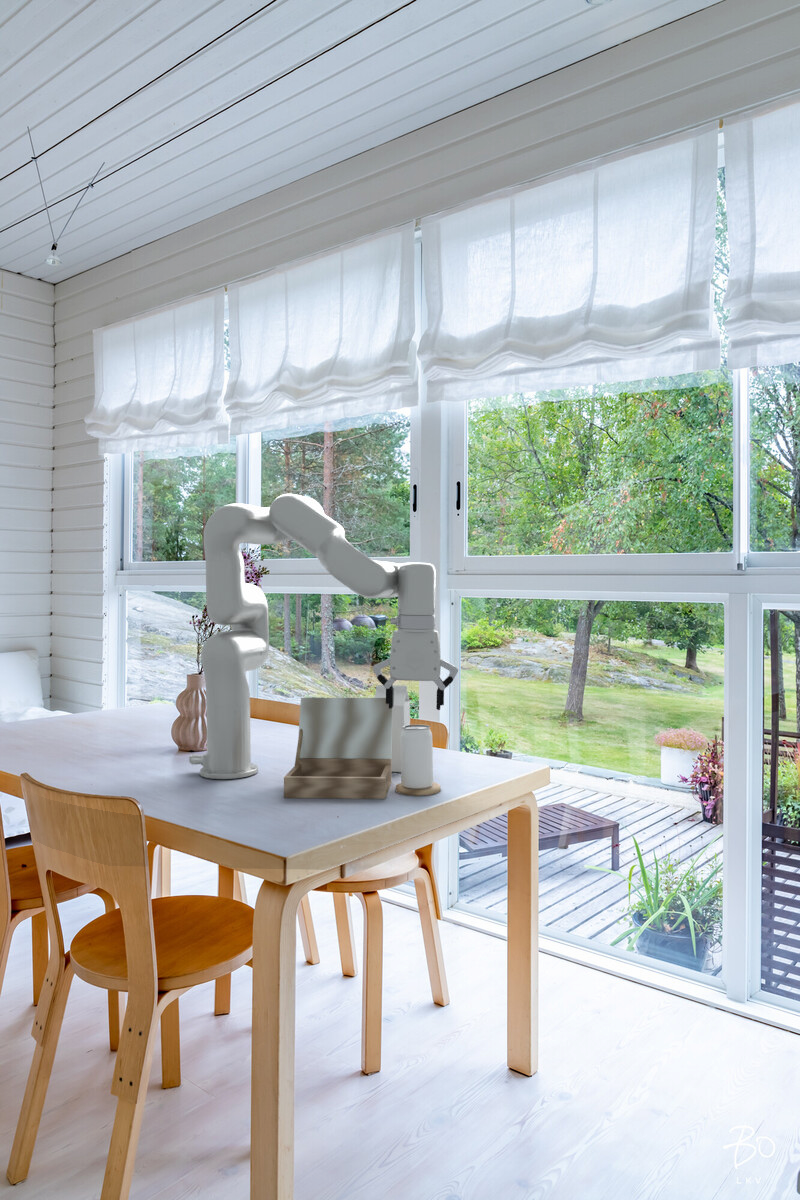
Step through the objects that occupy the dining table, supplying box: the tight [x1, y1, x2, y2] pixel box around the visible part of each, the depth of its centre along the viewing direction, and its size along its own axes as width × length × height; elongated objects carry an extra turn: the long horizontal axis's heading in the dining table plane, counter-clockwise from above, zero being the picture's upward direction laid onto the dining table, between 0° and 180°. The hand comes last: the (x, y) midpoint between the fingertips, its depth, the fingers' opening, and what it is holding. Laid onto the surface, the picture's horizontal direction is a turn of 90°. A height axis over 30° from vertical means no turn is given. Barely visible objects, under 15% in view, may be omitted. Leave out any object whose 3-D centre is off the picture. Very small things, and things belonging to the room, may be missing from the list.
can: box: [400, 724, 434, 789], centre depth 162 cm, size 6×6×12 cm
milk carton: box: [373, 684, 411, 773], centre depth 181 cm, size 7×7×19 cm
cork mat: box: [395, 781, 441, 797], centre depth 162 cm, size 9×9×1 cm
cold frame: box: [283, 697, 392, 800], centre depth 165 cm, size 20×18×17 cm
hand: (414, 708), depth 162 cm, fingers open, 9 cm apart
